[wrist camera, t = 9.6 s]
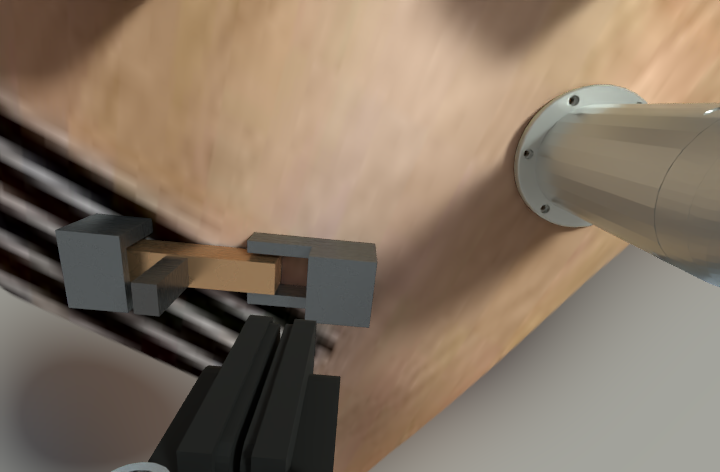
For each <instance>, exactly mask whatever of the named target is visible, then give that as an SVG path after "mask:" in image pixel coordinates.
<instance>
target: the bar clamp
mask: <svg viewBox="0 0 720 472" xmlns="http://www.w3.org/2000/svg"><path fill="white" fill-rule="evenodd" d="M55 232H56V238H57V243H58V249H59V255H60V261H61V266H62V272H63V278H64V284H65V289H66V295H67V301H68V307H69V308H80V309H91V310H102V311H114V312H125V313H128V312H129V311H130V310H132V309H133V300H132V291H131V282H130V277H129V268H128V259H127V249H126V248H127V247H129V246H131V245H132V244H134V243H136V242H138V241H139V240H141V239H143V238H144V237H146V236H148V235H149V234H151V233H153V229H152V219H148V218H138V217H127V216H117V215H106V214H94V215H92V216H89V217H87V218H84V219H82V220H79V221H77V222H74V223H72V224H69V225H67V226H64V227H62V228H59V229H57V230H55ZM247 253H257V254H268V255H279V256H290V257H300V258H308V274H307V286H296V285H285V284H279V286H278V288H277V290H276V292H275V295H269V294H258V293H247V303H248V304H259V305H270V306H281V307H292V308H304V309H305V320H313V321H316V323H321V324H332V325H344V326H355V327H366V328H369V324H370V316H371V308H372V300H373V292H374V284H375V276H376V267H377V257H376V246H375V244H372V243H361V242H351V241H340V240H330V239H319V238H309V237H298V236H287V235H277V234H266V233H256V232H254V233H253V235H252V236H251V237H250V238H249V239H248V240H247Z"/></svg>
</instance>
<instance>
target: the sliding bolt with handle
mask: <svg viewBox="0 0 720 472" xmlns="http://www.w3.org/2000/svg"><path fill="white" fill-rule="evenodd" d="M126 249H127V259H128V268H129V277H130V282H131V291H132V300H133V309H134V314H139V315H151V316H160V315H161V314H162V313H163V312H164V311H165V310H166V309H167V308H168V307H169V306H170V305H171V304H172V303H173V302H174V301H175V299H176V298H177V297H178V296H179V295H180V294H181V293H182V292H183V291H184V290H185V289H186V288H187V287H191V288H202V289H213V290H224V291H236V292H247V293H258V294H269V295H275V292H276V290H277V288H278V286H279V284H280V282H281V258H282V256H279V255H268V254H257V253H247V249H243V248H232V247H221V246H211V245H200V244H189V243H178V242H168V241H157V240H146V239H141V240H139V241H138V242H136V243H134V244H132V245H131V246H129V247H127V248H126Z"/></svg>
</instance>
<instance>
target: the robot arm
mask: <svg viewBox="0 0 720 472" xmlns="http://www.w3.org/2000/svg"><path fill="white" fill-rule="evenodd" d="M570 98H571V102H570V103H569V99H570ZM525 151H527V154H526V155H525V156H524V152H525ZM514 173H515V182H516V185H517V188H518V191H519V194H520V195H521V197H522V199H523V200H524V202H525V204H526V205H527V206H528V207H529V208H530V209H531V210H532V211H533V212H534V213H536V214H537V215H539V216H540V217H542V218H543V219H545V220H547V221H549V222H551V223H554V224H557V225H560V226H565V227H587V226H592V225H595V226H597V227H599V228H601V229H602V230H604V231H606V232H608V233H610V234H612V235H614V236H616V237H618V238H620V239H622V240H624V241H626V242H628V243H630V244H632V245H634V246H636V247H638V248H640V249H642V250H644V251H645V252H647V253H649V254H652V255H653V256H656V257H657V258H659V259H661V260H663V261H665V262H667V263H669V264H671V265H673V266H675V267H678V268H679V269H681V270H684V271H685V272H687V273H689V274H691V275H693V276H695V277H697V278H699V279H701V280H703V281H705V282H708V283H710V284H712V285H715V286H717V287H720V103H658V104H648V103H647V102H646V101H645V100H644V99H643V98H641V97H640V96H639V95H638V94H637V93H635V92H632V91H630V90H628V89H626V88H624V87H619V86H615V85H590V86H583V87H580V88H576V89H573V90H570V91H568V92H566V93H564V94H562V95H560V96H558V97H556V98H554V99H553V100H552V101H550V102H549V103H548V104H546V105H545V106H544V107H543V108H542V109H541V110H540V111H539V112H538V113H537V114H536V115H535V116H534V117H533V118H532V120H531V121H530V123H529V124H528V126H527V127H526V128H525V130H524V132H523V134H522V137H521V139H520V141H519V143H518V147H517V151H516V154H515V163H514ZM542 206H543V208H542V209H541V207H542ZM315 339H316V321H313V320H302V319H295V320H294V323H293V324H286V325H285V327H284V330H283V333H282V336H281V339H280V323H273V318H272V317H268V316H257V315H250V316H249V317H248V319H247V321H246V323H245V325H244V326H243V328H242V330H241V332H240V334H239V336H238V338H237V339H236V341H235V343H234V345H233V347H232V349H231V351H230V352H229V354H228V356H227V358H226V360H225V362H224V364H223V365H222V366H210V365H209V366H207V367H205V369H204V370H203V371H202V373H201V375H200V376H199V378H198V380H197V381H196V383H195V385H194V386H193V388H192V390H191V391H190V393H189V395H188V396H187V398H186V400H185V401H184V403H183V404H182V406H181V408H180V409H179V411H178V413H177V414H176V416H175V418H174V419H173V421H172V423H171V424H170V426H169V428H168V429H167V431H166V433H165V434H164V436H163V438H162V439H161V441H160V443H159V444H158V446H157V448H156V449H155V451H154V453H153V454H152V456H151V458H150V459H149V461H148V462H139V463H134V464H128V465H125V466H123V467H120V468H118V469H116V470H113V471H111V472H333V464H334V452H335V439H336V426H337V414H338V401H339V389H340V376H328V375H316V374H313V367H314V353H315Z"/></svg>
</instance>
